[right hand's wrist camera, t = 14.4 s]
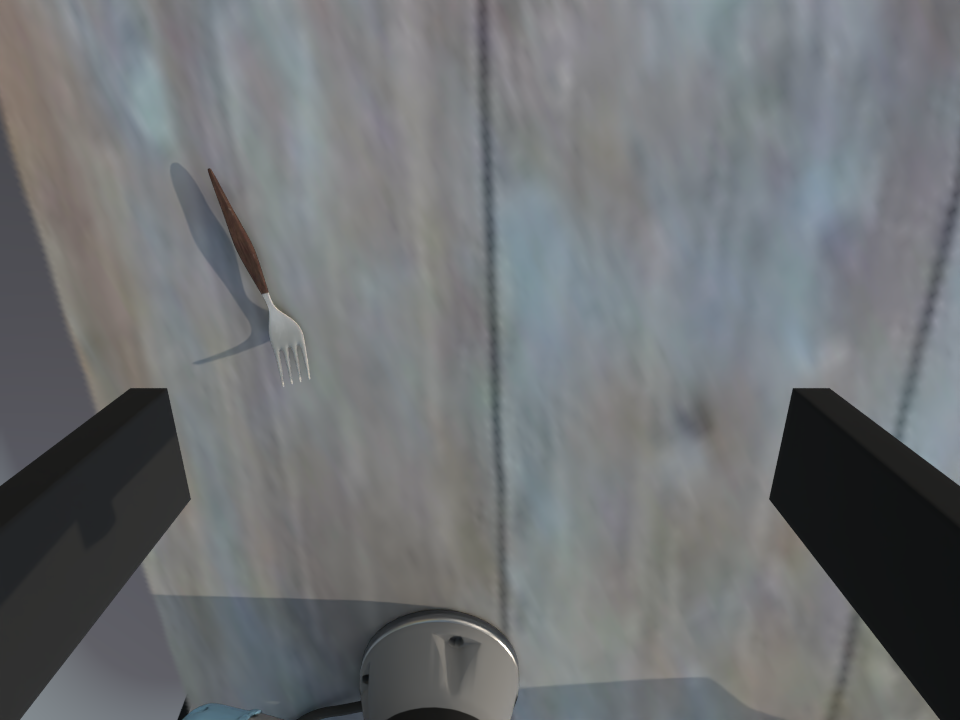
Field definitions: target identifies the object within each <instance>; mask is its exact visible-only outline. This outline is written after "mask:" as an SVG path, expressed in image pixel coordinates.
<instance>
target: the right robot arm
mask: <svg viewBox="0 0 960 720" xmlns="http://www.w3.org/2000/svg"><path fill="white" fill-rule="evenodd" d="M190 500H191V498H190V493H189V489H188V484H187V479H186V475H185V470H184V465H183V461H182V456H181V451H180V447H179V442H178V437H177V433H176V428H175V423H174V419H173V414H172V409H171V405H170V400H169V395H168V391H167V388H130V389H129V390H128V391H126V392H125V393H124V394H122V395H121V396H120V397H118V398H117V399H116V400H114V401H113V402H112V403H110V404H109V405H108V406H106V407H105V408H104V409H102V410H101V411H100V412H98V413H97V414H96V415H94V416H93V417H92V418H90V419H89V420H88V421H86V422H85V423H84V424H82V425H81V426H80V427H78V428H77V429H76V430H74V431H73V432H72V433H70V434H69V435H68V436H66V437H65V438H64V439H62V440H61V441H60V442H58V443H57V444H56V445H54V446H53V447H52V448H50V449H49V450H48V451H46V452H45V453H44V454H42V455H41V456H40V457H38V458H37V459H36V460H35V461H33V462H32V463H31V464H29V465H28V466H26V467H25V468H24V469H23V470H21V471H20V472H18V473H17V474H16V475H15V476H13V477H12V478H10V479H9V480H8V481H7V482H5V483H4V484H3V485H1V486H0V720H20V719H21V718H22V716H23V715H24V714H25V712H26V711H27V710H28V709H29V707H30V706H31V705H32V703H33V702H34V701H35V700H36V698H37V697H38V696H39V694H40V693H41V692H42V691H43V689H44V688H45V687H46V685H47V684H48V683H49V681H50V680H51V679H52V678H53V676H54V675H55V674H56V672H57V671H58V670H59V669H60V667H61V666H62V665H63V663H64V662H65V661H66V660H67V658H68V657H69V656H70V654H71V653H72V652H73V650H74V649H75V648H76V647H77V645H78V644H79V643H80V641H81V640H82V639H83V638H84V636H85V635H86V634H87V632H88V631H89V630H90V629H91V627H92V626H93V625H94V623H95V622H96V621H97V619H98V618H99V617H100V616H101V614H102V613H103V612H104V610H105V609H106V608H107V607H108V605H109V604H110V603H111V601H112V600H113V599H114V598H115V596H116V595H117V594H118V592H119V591H120V590H121V589H122V587H123V586H124V585H125V583H126V582H127V581H128V580H129V578H130V577H131V576H132V574H133V573H134V572H135V570H136V569H137V568H138V567H139V565H140V564H141V563H142V561H143V560H144V559H145V558H146V556H147V555H148V554H149V552H150V551H151V550H152V549H153V547H154V546H155V545H156V543H157V542H158V541H159V540H160V538H161V537H162V536H163V534H164V533H165V532H166V530H167V529H168V528H169V527H170V525H171V524H172V523H173V521H174V520H175V519H176V518H177V516H178V515H179V514H180V512H181V511H182V510H183V509H184V507H185V506H186V505H187V503H188V502H189V501H190ZM769 500H770V501H771V502H772V503H773V505H774V506H775V507H776V509H777V510H778V511H779V512H780V514H781V515H782V516H783V518H784V519H785V520H786V521H787V523H788V524H789V525H790V527H791V528H792V529H793V530H794V532H795V533H796V534H797V536H798V537H799V538H800V540H801V541H802V542H803V543H804V545H805V546H806V547H807V549H808V550H809V551H810V552H811V554H812V555H813V556H814V558H815V559H816V560H817V561H818V563H819V564H820V565H821V567H822V568H823V569H824V570H825V572H826V573H827V574H828V576H829V577H830V578H831V580H832V581H833V582H834V583H835V585H836V586H837V587H838V589H839V590H840V591H841V592H842V594H843V595H844V596H845V598H846V599H847V600H848V601H849V603H850V604H851V605H852V607H853V608H854V609H855V610H856V612H857V613H858V614H859V616H860V617H861V618H862V620H863V621H864V622H865V623H866V625H867V626H868V627H869V629H870V630H871V631H872V632H873V634H874V635H875V636H876V638H877V639H878V640H879V641H880V643H881V644H882V645H883V647H884V648H885V649H886V650H887V652H888V653H889V654H890V656H891V657H892V658H893V660H894V661H895V662H896V663H897V665H898V666H899V667H900V669H901V670H902V671H903V672H904V674H905V675H906V676H907V678H908V679H909V680H910V681H911V683H912V684H913V685H914V687H915V688H916V689H917V691H918V692H919V693H920V694H921V696H922V697H923V698H924V700H925V701H926V702H927V703H928V705H929V706H930V707H931V709H932V710H933V711H934V712H935V714H936V715H937V716H938V718H939V719H940V720H960V486H959V485H958V484H956V483H955V482H954V481H952V480H951V479H950V478H948V477H947V476H946V475H944V474H943V473H942V472H940V471H939V470H938V469H936V468H935V467H934V466H932V465H931V464H930V463H928V462H927V461H926V460H924V459H923V458H922V457H920V456H919V455H918V454H916V453H915V452H914V451H912V450H911V449H910V448H908V447H907V446H906V445H904V444H903V443H902V442H900V441H899V440H898V439H896V438H895V437H894V436H892V435H891V434H890V433H888V432H887V431H886V430H884V429H883V428H882V427H880V426H879V425H878V424H876V423H875V422H874V421H872V420H871V419H870V418H868V417H867V416H866V415H864V414H863V413H862V412H860V411H859V410H858V409H856V408H855V407H854V406H852V405H851V404H850V403H848V402H847V401H846V400H844V399H843V398H842V397H840V396H839V395H838V394H836V393H835V392H834V391H832V390H831V389H830V388H793V391H792V395H791V400H790V405H789V409H788V414H787V419H786V423H785V428H784V433H783V437H782V442H781V447H780V451H779V456H778V461H777V465H776V470H775V475H774V479H773V484H772V489H771V493H770V498H769ZM518 689H519V669H518V660H517V656H516V653H515V651H514V649H513V647H512V645H511V644H510V642H509V641H508V640H507V638H506V637H505V636H504V635H503V634H502V633H501V632H500V631H499V630H497V629H496V628H495V627H494V626H492V625H490V624H489V623H487V622H485V621H483V620H482V619H479V618H477V617H474V616H471V615H468V614H465V613H461V612H455V611H447V610H430V611H421V612H416V613H412V614H409V615H406V616H403V617H401V618H398V619H396V620H394V621H392V622H390V623H389V624H387V625H386V626H384V627H383V628H382V629H381V630H380V631H378V632H377V633H376V634H375V636H374V637H373V638H372V639H371V641H370V642H369V644H368V646H367V648H366V650H365V653H364V656H363V661H362V665H361V670H360V695H361V701H358V702H353V703H348V704H343V705H337V706H330V707H325V708H320V709H317V710H314V711H312V712H309V713H307V714H305V715H304V716H302V717H300V718H298V719H297V720H320V719H323V718H328V717H334V716H342V715H347V714H352V713H357V712H362V711H363V716H364V720H511V716H512V712H513V708H514V706H515V703H516V701H517V697H518ZM519 698H520V697H519ZM189 711H190V709H189V705H188V702H187V698H185V701H184V703H183V706H182V709H181V711H180V714H179V717H178V719H177V720H283V719H279V718H276V717H273V716H269V715H266V714H263V713H262V711H261V710H258V709H254V710H250V711H248V710H243V709H239V708H235V707H230V706H226V705H221V704H216V703H210V704H205V705H202V706H200V707H198V708H196V709H194V710H193V711H191V712H190V713H189Z"/></svg>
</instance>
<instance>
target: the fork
mask: <svg viewBox="0 0 960 720" xmlns="http://www.w3.org/2000/svg"><path fill="white" fill-rule="evenodd" d="M208 172H209V176H210V179H211V181H212V184H213V187H214V190H215V193H216V195H217V198H218V201H219V203H220V206H221V209H222V212H223V214H224V217H225V220H226V223H227V226H228V229H229V232H230V235H231V237H232V240H233V243H234V245H235V248H236V250H237V252H238V254H239V256H240V258H241V260H242V262H243V263H244V265H245V267H246V268H247V270H248V272H249V274H250V275H251V277H252V279H253V280H254V282H255V284H256V285H257V287H258V289H259V291H260V292H261V294H262V296H263V297H264V299H265V301H266V303H267V306H268V309H269V337H270V341H271V345H272V347H273V350H274V353H275V357H276V360H277V364H278V369H279V373H280V377H281V381H282V386H283V387H284V381H283V373H282V365H281V359H280V350H282V351H283V353H284V356H285V360H286V364H287V368H288V372H289V376H290V380H291V384H293V382H292V373H291V366H290V359H289V352H288V349H289V347H290V348H291V349H292V352H293V355H294V359H295V363H296V367H297V371H298V375H299V379H300V382H301V374H300V366H299V359H298V353H297V345H299V346H300V347H301V350H302V354H303V358H304V362H305V365H306V369H307V374H308V379H310V374H309V366H308V359H307V353H306V347H305V341H304V336H303V333H302V330H301V328H300V327H299V325H298V324H297V323H296V322H295V321H294V320H293V319H291V318H290V317H289V316H287V315H286V314H284V313H283V312H281V311H280V310H278V309H277V308H276V307H275V306H274V304H273V302H272V300H271V298H270V295H269V292H268V289H267V286H266V283H265V279H264V276H263V273H262V270H261V267H260V264H259V261H258V258H257V255H256V252H255V250H254V247H253V245H252V243H251V241H250V239H249V237H248V235H247V234H246V232H245V230H244V228H243V226H242V225H241V223H240V221H239V219H238V218H237V216H236V214H235V212H234V211H233V209H232V207H231V205H230V203H229V201H228V199H227V197H226V196H225V194H224V192H223V190H222V188H221V186H220V184H219V182H218V181H217V179H216V177H215V175H214V174H213V172H212V170H211V169H208Z"/></svg>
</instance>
